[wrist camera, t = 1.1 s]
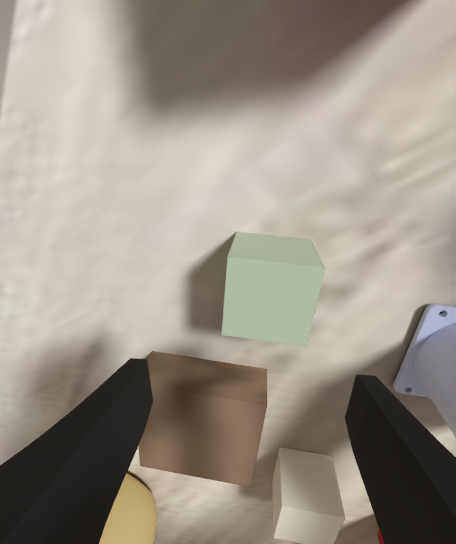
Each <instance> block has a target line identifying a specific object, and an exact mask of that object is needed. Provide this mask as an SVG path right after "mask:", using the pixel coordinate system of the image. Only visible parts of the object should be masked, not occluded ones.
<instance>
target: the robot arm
mask: <svg viewBox="0 0 456 544" xmlns="http://www.w3.org/2000/svg"><path fill="white" fill-rule="evenodd" d="M441 311H444V312H443V313H442V314H439V313H440V312H441ZM393 388H394V390H395V391H396V392H397V393H400V394H407V395H414V396H421V397H427V398H430V399H431V401H432V402H433V404H434V406H435V407H436V409H437V410H438V412H439V413H440V415H441V416H442V418H443V419H444V421H445V422H446V424H447V425H448V427H449V428H450V430H451V431H452V433H453V434H454V436H455V437H456V306H448V305H440V304H431V305H429V306H427V307H426V309H425V311H424V313H423V315H422V318H421V320H420V322H419V325H418V327H417V330H416V332H415V334H414V337H413V339H412V341H411V344H410V346H409V349H408V351H407V353H406V356H405V358H404V360H403V363H402V365H401V367H400V370H399V372H398V375H397V377H396V379H395V382H394V384H393ZM406 388H407V389H406ZM152 404H153V396H152V389H151V382H150V375H149V368H148V361H147V360H146V359H132V358H131V359H130V360H128V361H127V362H126V363H125V364H124V365H123V366H122V367H120V368H119V369H118V370H117V371H116V372H115V373H114V374H113V375H112V376H111V377H110V378H108V379H107V380H106V381H105V382H104V383H103V384H102V385H101V386H100V387H99V388H97V389H96V390H95V391H94V392H93V393H92V394H91V395H89V396H88V397H87V398H86V399H85V400H84V401H83V402H81V403H80V404H79V405H78V406H77V407H76V408H75V409H73V410H72V411H71V412H70V413H69V414H67V415H66V416H65V417H64V418H62V419H61V420H60V421H59V422H58V423H56V424H55V425H54V426H53V427H51V428H50V429H49V430H48V431H46V432H45V433H44V434H43V435H41V436H40V437H39V438H37V439H36V440H35V441H33V442H32V443H31V444H29V445H28V446H27V447H25V448H24V449H23V450H21V451H20V452H18V453H17V454H16V455H14V456H13V457H11V458H10V459H9V460H7V461H6V462H4V463H3V464H2V465H0V544H99V542H100V539H101V536H102V533H103V530H104V527H105V524H106V522H107V519H108V516H109V514H110V511H111V509H112V506H113V504H114V501H115V499H116V497H117V494H118V492H119V490H120V487H121V485H122V482H123V480H124V478H125V475H126V473H127V471H128V468H129V466H130V464H131V461H132V459H133V457H134V454H135V452H136V450H137V447H138V445H139V443H140V440H141V438H142V435H143V433H144V430H145V427H146V424H147V421H148V418H149V414H150V411H151V407H152ZM345 419H346V424H347V428H348V433H349V437H350V442H351V446H352V450H353V453H354V456H355V459H356V462H357V465H358V468H359V471H360V474H361V477H362V480H363V483H364V485H365V488H366V491H367V494H368V497H369V500H370V503H371V506H372V508H373V511H374V514H375V517H376V520H377V523H378V526H379V529H380V532H381V534H382V538H383V541H384V544H456V457H455V456H454V455H453V454H452V453H450V452H449V451H448V450H447V449H446V448H445V447H444V446H443V445H442V444H441V443H440V442H439V441H438V440H437V439H436V438H435V437H434V436H433V435H432V434H431V433H430V432H429V431H428V430H427V429H426V428H425V427H424V426H423V425H422V424H421V423H420V422H419V421H418V420H417V419H416V418H415V417H414V416H413V415H412V414H411V413H410V412H409V411H408V410H407V409H406V408H405V407H404V405H403V404H402V403H401V402H400V401H399V400H398V399H397V398H396V397H395V396H394V395H393V394H392V393H391V392H390V391H389V390H388V389H387V388H386V387H385V386H384V384H383V383H382V382H381V381H380V380H379V379H378V378H377V377H376V376H368V375H356V378H355V381H354V385H353V389H352V393H351V397H350V401H349V404H348V408H347V412H346V416H345Z"/></svg>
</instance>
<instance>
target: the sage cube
mask: <svg viewBox="0 0 456 544" xmlns="http://www.w3.org/2000/svg"><path fill="white" fill-rule="evenodd" d="M324 270H325V266H324V265H323V263H322V261H321V259H320V257H319V255H318V253H317V251H316V249H315V247H314V245H313V243H312V241H311V239H301V238H292V237H282V236H273V235H263V234H254V233H244V232H236V235H235V237H234V240H233V243H232V246H231V248H230V251H229V254H228V257H227V269H226V283H225V296H224V309H223V322H222V335H226V336H233V337H240V338H247V339H255V340H262V341H269V342H277V343H284V344H291V345H298V346H306V347H307V343H308V338H309V334H310V330H311V326H312V321H313V317H314V313H315V309H316V304H317V300H318V296H319V291H320V287H321V283H322V279H323V274H324Z"/></svg>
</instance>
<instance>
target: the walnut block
mask: <svg viewBox="0 0 456 544" xmlns="http://www.w3.org/2000/svg"><path fill="white" fill-rule="evenodd" d="M147 361H148V368H149V375H150V382H151V389H152V396H153V404H152V407H151V411H150V414H149V418H148V421H147V424H146V427H145V430H144V433H143V435H142V438H141V440H140V443H139V456H140V466H143V467H148V468H153V469H159V470H164V471H169V472H174V473H180V474H185V475H190V476H195V477H201V478H206V479H211V480H217V481H222V482H227V483H232V484H238V485H243V486H248V487H251V484H252V479H253V474H254V468H255V463H256V458H257V453H258V448H259V443H260V438H261V433H262V428H263V423H264V418H265V413H266V408H267V369H263V368H256V367H250V366H244V365H237V364H231V363H224V362H218V361H212V360H205V359H199V358H192V357H186V356H180V355H173V354H167V353H160V352H154V351H152V353H151V354H150V356H149V358H148V360H147Z"/></svg>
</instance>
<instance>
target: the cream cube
mask: <svg viewBox="0 0 456 544" xmlns="http://www.w3.org/2000/svg"><path fill="white" fill-rule="evenodd" d="M272 481H273V535H274V538H276V539H281V540H286V541H291V542H296V543H301V544H334V542H335V540H336V538H337V535H338V533H339V531H340V529H341V526H342V524H343V522H344V520H345V515H344V510H343V505H342V501H341V496H340V491H339V487H338V482H337V477H336V473H335V468H334V463H333V459H332V456H328V455H322V454H317V453H311V452H305V451H299V450H293V449H287V448H281V447H279V452H278V456H277V460H276V465H275V469H274V474H273V478H272Z"/></svg>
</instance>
